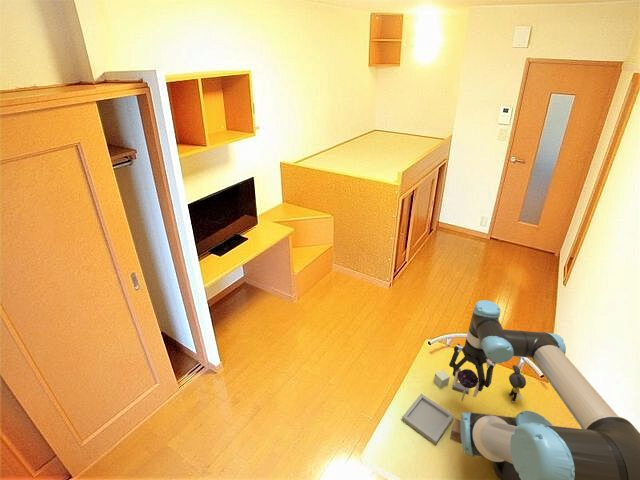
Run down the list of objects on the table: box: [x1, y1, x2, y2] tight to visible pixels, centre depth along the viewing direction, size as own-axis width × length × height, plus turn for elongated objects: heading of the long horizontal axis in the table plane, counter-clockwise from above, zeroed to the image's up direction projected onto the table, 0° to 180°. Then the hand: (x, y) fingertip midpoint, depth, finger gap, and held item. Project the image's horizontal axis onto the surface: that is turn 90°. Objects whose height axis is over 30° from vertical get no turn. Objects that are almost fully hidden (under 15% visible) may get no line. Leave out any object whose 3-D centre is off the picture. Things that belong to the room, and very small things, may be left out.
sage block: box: [433, 369, 451, 390], centre depth 141 cm, size 4×4×5 cm
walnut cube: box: [449, 417, 462, 445], centre depth 122 cm, size 5×5×5 cm
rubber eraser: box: [451, 380, 470, 395], centre depth 139 cm, size 6×3×2 cm, turn 66°
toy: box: [508, 365, 527, 403], centre depth 132 cm, size 8×5×15 cm, turn 179°
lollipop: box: [458, 368, 479, 402], centre depth 128 cm, size 7×7×15 cm
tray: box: [401, 393, 455, 446], centre depth 128 cm, size 13×13×2 cm
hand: (465, 388), depth 128 cm, fingers closed on lollipop, 7 cm apart
